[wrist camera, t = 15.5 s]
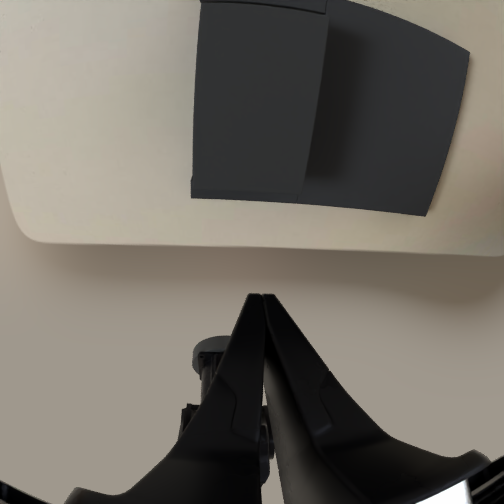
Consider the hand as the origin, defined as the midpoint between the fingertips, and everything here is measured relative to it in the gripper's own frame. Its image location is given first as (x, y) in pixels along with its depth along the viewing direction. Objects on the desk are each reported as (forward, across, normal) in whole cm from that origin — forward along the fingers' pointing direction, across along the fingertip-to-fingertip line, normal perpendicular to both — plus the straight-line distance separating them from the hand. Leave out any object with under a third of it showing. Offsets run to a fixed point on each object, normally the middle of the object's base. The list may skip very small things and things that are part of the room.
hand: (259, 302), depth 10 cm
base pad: (+12, -4, -5) cm, 14 cm away
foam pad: (+12, 0, -5) cm, 13 cm away
